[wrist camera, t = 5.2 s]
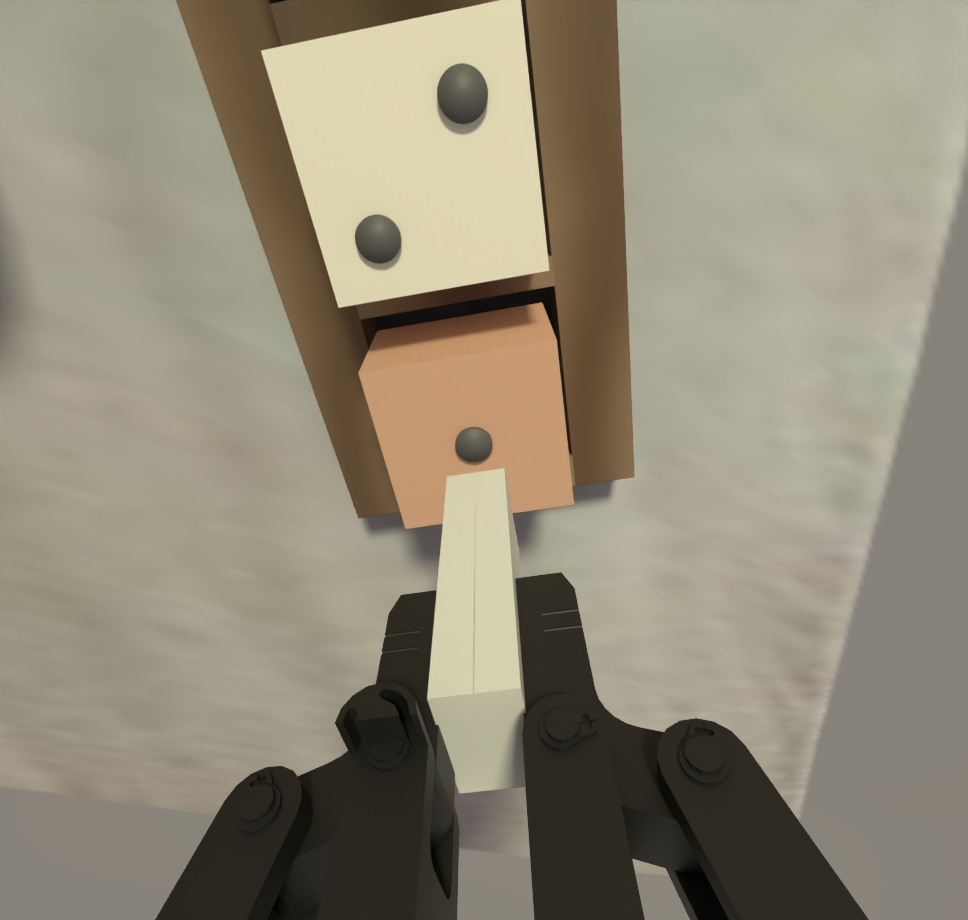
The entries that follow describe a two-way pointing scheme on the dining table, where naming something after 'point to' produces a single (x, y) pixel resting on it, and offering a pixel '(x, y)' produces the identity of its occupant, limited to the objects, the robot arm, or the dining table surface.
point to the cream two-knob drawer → (416, 151)
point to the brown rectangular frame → (571, 280)
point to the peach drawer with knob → (470, 408)
